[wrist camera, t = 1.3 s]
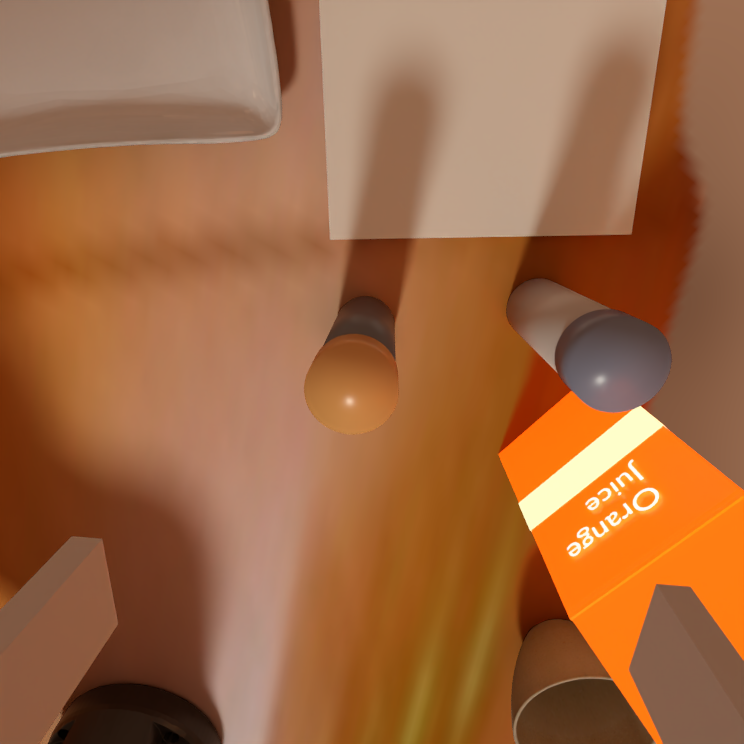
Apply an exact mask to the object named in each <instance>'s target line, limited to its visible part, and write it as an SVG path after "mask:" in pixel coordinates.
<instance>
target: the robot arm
mask: <svg viewBox="0 0 744 744" xmlns="http://www.w3.org/2000/svg"><path fill="white" fill-rule="evenodd" d="M117 625H118V619H117V614H116V609H115V604H114V598H113V593H112V588H111V582H110V577H109V572H108V566H107V561H106V556H105V551H104V545H103V540H102V539H100V538H87V537H75V536H71V537H70V538H69V539H68V541H67V542H66V543H65V544H64V545H63V546H62V547H61V548H60V549H59V550H58V551H57V552H56V553H55V554H54V555H53V556H52V557H51V558H50V559H49V560H48V561H47V562H46V563H45V564H44V565H43V566H42V567H41V568H40V569H39V571H38V572H37V573H36V574H35V575H34V576H33V577H32V578H31V579H30V580H29V581H28V582H27V583H26V584H25V585H24V586H23V587H22V588H21V589H20V590H19V591H18V592H17V593H16V594H15V595H14V596H13V597H12V598H11V599H10V601H9V602H8V603H7V604H6V605H5V606H4V607H3V608H2V609H1V610H0V744H39V743H40V742H41V740H42V738H43V737H44V735H45V734H46V732H47V731H48V729H49V728H50V726H51V725H52V723H53V722H54V720H55V719H56V717H57V716H58V714H59V713H60V711H61V710H62V708H63V707H64V705H65V704H66V702H67V701H68V699H69V698H70V696H71V695H72V693H73V692H74V690H75V689H76V687H77V686H78V684H79V683H80V681H81V680H82V678H83V677H84V675H85V674H86V672H87V671H88V669H89V668H90V666H91V665H92V663H93V662H94V660H95V659H96V657H97V655H98V654H99V652H100V651H101V649H102V648H103V646H104V645H105V643H106V642H107V640H108V639H109V637H110V636H111V634H112V633H113V631H114V630H115V628H116V627H117ZM629 672H630V674H631V676H632V678H633V680H634V683H635V685H636V687H637V689H638V691H639V693H640V695H641V698H642V700H643V702H644V704H645V706H646V708H647V710H648V713H649V715H650V717H651V719H652V721H653V723H654V725H655V728H656V730H657V732H658V734H659V736H660V738H661V740H662V743H663V744H744V660H743V659H742V658H741V656H740V655H739V653H738V652H737V651H736V649H735V648H734V647H733V645H732V644H731V642H730V641H729V640H728V638H727V637H726V635H725V634H724V633H723V631H722V630H721V629H720V627H719V626H718V624H717V623H716V622H715V620H714V619H713V617H712V616H711V615H710V613H709V612H708V610H707V609H706V608H705V606H704V605H703V604H702V602H701V601H700V599H699V598H698V597H697V595H696V594H695V592H694V591H693V590H692V588H691V587H688V586H676V585H664V584H656V586H655V589H654V592H653V595H652V598H651V602H650V605H649V608H648V611H647V614H646V617H645V620H644V623H643V626H642V629H641V633H640V636H639V639H638V642H637V645H636V648H635V651H634V654H633V657H632V660H631V663H630V667H629ZM48 744H221V743H220V739H219V736H218V734H217V732H216V730H215V728H214V727H213V725H212V724H211V722H210V721H209V720H208V719H207V718H206V717H205V716H204V715H203V714H202V713H201V712H200V711H199V710H198V709H197V708H195V707H194V706H193V705H191V704H190V703H188V702H187V701H185V700H183V699H181V698H180V697H178V696H175V695H173V694H171V693H168V692H166V691H163V690H160V689H156V688H153V687H148V686H142V685H134V684H116V685H108V686H103V687H99V688H96V689H93V690H91V691H88V692H86V693H84V694H83V695H81V696H80V697H78V698H77V699H76V700H75V701H74V702H72V704H71V705H70V706H69V707H68V709H67V710H66V712H65V713H64V715H63V717H62V718H61V720H60V721H59V723H58V724H57V726H56V728H55V729H54V731H53V733H52V735H51V737H50V739H49V742H48Z"/></svg>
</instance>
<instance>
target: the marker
mask: <svg viewBox="0 0 744 744" xmlns="http://www.w3.org/2000/svg"><path fill="white" fill-rule="evenodd" d="M304 393H305V399H306V403H307V405H308V407H309V409H310V411H311V413H312V414H313V415H314V417H315V418H316V419H317V420H318V421H319V422H320V423H322V424H323V425H324V426H326V427H328V428H329V429H331V430H334V431H336V432H339V433H344V434H361V433H366V432H369V431H372V430H374V429H376V428H378V427H379V426H381V425H382V424H383V423H385V422H386V421H387V420H388V418H389V417H390V416H391V415H392V413H393V411H394V409H395V407H396V404H397V401H398V395H399V386H398V369H397V365H396V362H395V330H394V318H393V315H392V313H391V311H390V309H389V308H388V307H387V306H386V304H384V303H383V302H382V301H380V300H378V299H376V298H373V297H369V296H362V297H357V298H354V299H352V300H350V301H349V302H347V303H346V304H345V305H344V306H343V307H342V309H341V310H340V312H339V314H338V316H337V318H336V320H335V322H334V324H333V326H332V329H331V331H330V333H329V335H328V337H327V339H326V341H325V343H324V345H323V347H322V348H321V349H320V350H319V352H318V353H317V355H316V357H315V359H314V361H313V363H312V365H311V367H310V369H309V371H308V373H307V375H306V379H305V385H304Z"/></svg>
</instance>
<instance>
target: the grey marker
mask: <svg viewBox="0 0 744 744" xmlns="http://www.w3.org/2000/svg"><path fill="white" fill-rule="evenodd" d="M506 313H507V318H508V321H509V323H510V325H511V326H512V327H513V329H514V330H515V331H516V332H517V333H518V334H519V335H520V336H521V337H522V338H523V339H524V340H525V341H526V342H527V343H528V344H529V345H530V346H531V347H532V348H533V349H534V350H535V351H536V352H537V353H538V354H539V355H540V356H541V357H542V358H543V359H544V360H545V361H546V362H547V363H548V364H549V365H550V366H551V367H552V368H553V369H554V370H555V371H556V372H557V373H558V375H559V377H560V378H561V380H562V381H563V382H564V383H565V384H566V385H567V386H568V387H569V388H570V389H571V390H572V391H573V392H574V393H575V395H576V396H577V397H578V398H579V399H580V400H581V401H583V402H584V403H585V404H586V405H588V406H589V407H591V408H593V409H595V410H598V411H602V412H609V413H618V412H625V411H629V410H632V409H635V408H637V407H639V406H641V405H643V404H645V403H646V402H648V401H649V400H650V399H652V398H653V397H654V396H655V395H656V394H657V393H658V392H659V391H660V389H661V388H662V387H663V385H664V383H665V382H666V380H667V378H668V375H669V372H670V368H671V362H672V357H671V350H670V346H669V343H668V342H667V340H666V338H665V337H664V335H663V334H662V333H661V332H660V331H659V330H658V329H657V328H655V327H654V326H652V325H650V324H648V323H646V322H644V321H642V320H640V319H638V318H635V317H633V316H631V315H629V314H627V313H625V312H622V311H619V310H613V309H610V308H608V307H606V306H604V305H602V304H600V303H598V302H595V301H593V300H591V299H589V298H587V297H585V296H583V295H581V294H578V293H576V292H574V291H572V290H570V289H568V288H566V287H564V286H561V285H559V284H557V283H555V282H553V281H551V280H548V279H543V278H536V279H531V280H528V281H526V282H524V283H522V284H520V285H519V286H518V287H517V288H516V289H515V290H514V291H513V292H512V294H511V295H510V297H509V300H508V303H507V308H506Z"/></svg>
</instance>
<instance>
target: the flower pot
mask: <svg viewBox="0 0 744 744" xmlns="http://www.w3.org/2000/svg"><path fill="white" fill-rule="evenodd" d="M511 714H512V728H513V736H514V740H515V743H516V744H656V742H655V741H654V739H653V738H652V736H651V735H650V734H649V732H648V731H647V729H646V728H645V726H644V725H643V723H642V722H641V720H640V719H639V717H638V716H637V714H636V713H635V712H634V710H633V709H632V707H631V706H630V704H629V703H628V701H627V700H626V698H625V697H624V695H623V694H622V692H621V691H620V690H619V688H618V687H617V685H616V684H615V682H614V681H613V679H612V678H611V676H610V675H609V673H608V672H607V670H606V669H605V668H604V666H603V665H602V663H601V662H600V660H599V659H598V657H597V656H596V654H595V653H594V651H593V650H592V648H591V647H590V646H589V644H588V643H587V641H586V640H585V638H584V637H583V635H582V634H581V632H580V631H579V629H578V628H577V626H576V625H575V623H574V622H571V621H568V620H563V619H552V620H547V621H544V622H542V623H539V624H538V625H536V626H534V627H533V628H532V629H531V630H530V631H529V633H528V634H527V636H526V638H525V640H524V642H523V644H522V646H521V649H520V652H519V655H518V658H517V662H516V666H515V670H514V676H513V683H512V695H511Z"/></svg>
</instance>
